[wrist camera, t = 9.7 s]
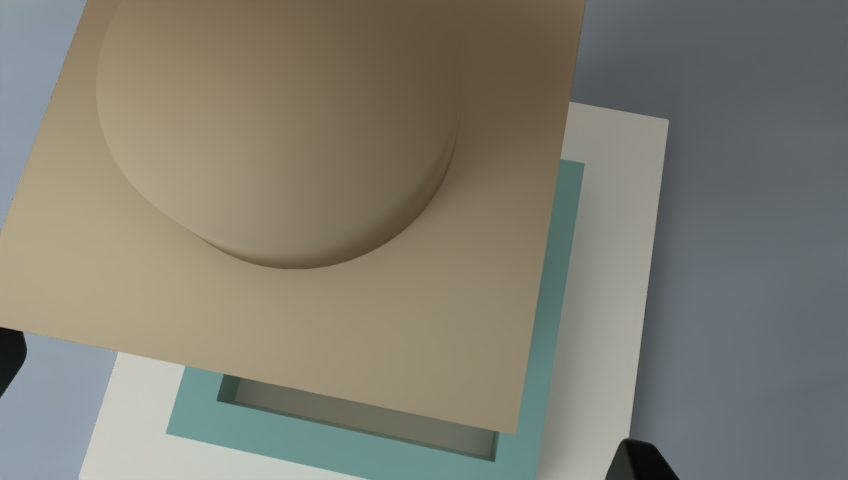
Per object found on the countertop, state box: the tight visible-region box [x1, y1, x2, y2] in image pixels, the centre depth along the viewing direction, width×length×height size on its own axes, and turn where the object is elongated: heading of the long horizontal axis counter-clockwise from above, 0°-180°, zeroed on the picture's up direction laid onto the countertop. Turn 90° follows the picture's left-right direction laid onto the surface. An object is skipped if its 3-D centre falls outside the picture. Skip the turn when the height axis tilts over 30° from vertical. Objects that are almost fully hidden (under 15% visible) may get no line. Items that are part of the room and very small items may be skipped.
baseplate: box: [78, 102, 669, 480], centre depth 18 cm, size 14×14×2 cm
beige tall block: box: [0, 0, 586, 435], centre depth 12 cm, size 5×5×13 cm
